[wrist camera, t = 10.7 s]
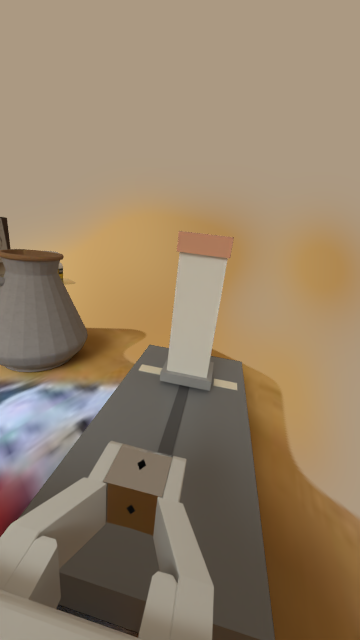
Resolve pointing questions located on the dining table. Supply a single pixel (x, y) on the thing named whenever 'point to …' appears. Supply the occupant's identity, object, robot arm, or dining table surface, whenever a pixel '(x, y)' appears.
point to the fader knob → (196, 308)
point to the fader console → (197, 497)
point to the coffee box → (3, 241)
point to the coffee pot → (36, 313)
